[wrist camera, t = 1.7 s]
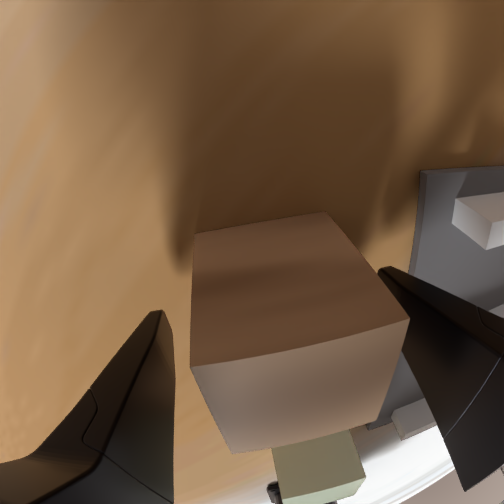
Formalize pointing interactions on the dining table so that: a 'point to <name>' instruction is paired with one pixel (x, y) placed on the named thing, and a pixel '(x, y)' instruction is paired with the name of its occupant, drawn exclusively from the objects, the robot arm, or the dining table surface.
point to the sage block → (318, 469)
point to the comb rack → (451, 266)
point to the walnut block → (290, 331)
